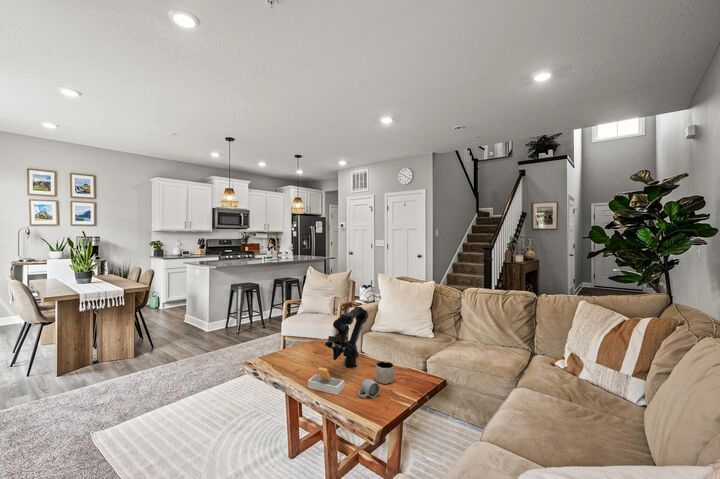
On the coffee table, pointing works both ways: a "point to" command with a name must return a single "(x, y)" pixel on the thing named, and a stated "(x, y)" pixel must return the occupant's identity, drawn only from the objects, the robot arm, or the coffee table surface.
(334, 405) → the coffee table surface
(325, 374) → the lever
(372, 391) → the ceramic mug
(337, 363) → the coffee table surface
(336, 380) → the breaker housing
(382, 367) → the planter
